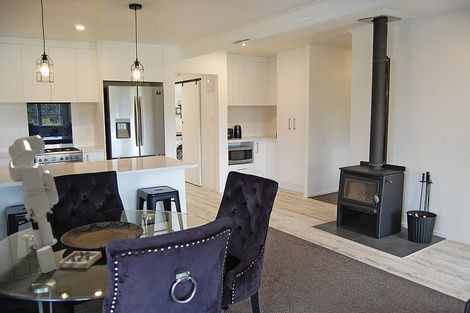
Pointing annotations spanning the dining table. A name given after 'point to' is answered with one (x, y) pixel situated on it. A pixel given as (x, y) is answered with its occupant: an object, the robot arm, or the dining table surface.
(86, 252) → the pin tray
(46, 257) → the skincare box
